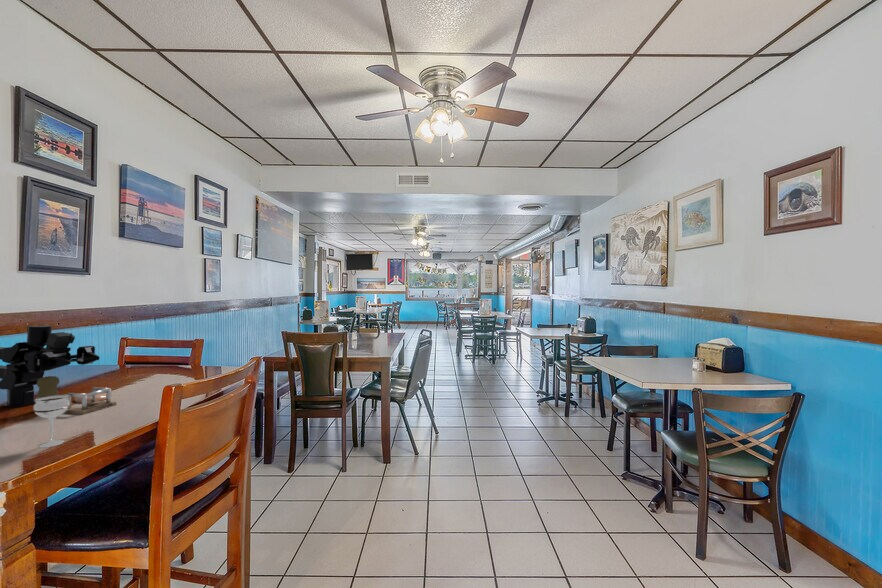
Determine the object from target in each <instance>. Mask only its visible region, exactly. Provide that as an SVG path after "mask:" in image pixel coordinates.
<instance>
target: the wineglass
mask: <svg viewBox="0 0 882 588" xmlns="http://www.w3.org/2000/svg"><path fill="white" fill-rule="evenodd" d="M69 396H70V395H67V394H58V395H50V396H44V397H39V398H37V397H36V398H34V401H35V402H36V403H34V405H33V407H32V409H33V412H34V414H35V415H37V416H38V417H40V418H44V419H47V420H48V421H49V440H48V441H47V440H46V441H45V442H41V443H39V444H37V448H42V449H43V448H50V447H56V446H59V445H61V444H64V443H65V440H60V439H53V435H54V422H55V419H57V418H58V417H59V416H61V415H63V414H65V413H64V412H65V411H66V410H68V408H69V405H70V401H69V400H68V398H69ZM63 442H64V443H63Z"/></svg>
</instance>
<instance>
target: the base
mask: <svg viewBox="0 0 882 588" xmlns="http://www.w3.org/2000/svg"><path fill="white" fill-rule="evenodd" d="M113 405H114V406H117V401H111V403H106V400H103V401H96V402H91V401H90V402H87V410H82V407H75V406H71V408H70V409H68V410H66V411H65V412H64V413H63V414H74V415H86V413H87V414H90V413H93V412H96V410H97V411H100V410H104V409H106V407H107V408H110V407H109V406H111V407H114V406H113ZM103 408H104V409H103Z"/></svg>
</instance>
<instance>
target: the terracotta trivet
mask: <svg viewBox="0 0 882 588" xmlns="http://www.w3.org/2000/svg"><path fill="white" fill-rule="evenodd" d="M111 396H112V393H111ZM105 399H106V393H102V394H98V395H96V401H101V400H103V401H106V400H105ZM90 401H91V396H90V397H87V402H90ZM74 402H75V403H79V404H82V398H80V397H74Z"/></svg>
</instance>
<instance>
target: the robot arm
mask: <svg viewBox="0 0 882 588" xmlns="http://www.w3.org/2000/svg"><path fill="white" fill-rule="evenodd" d="M52 329H53V326H52V325H49V324H47V325H46V324H45V325H27V327H26V332H27V335H26V341H22V342H21V341H20V342H15V344H13V345H12V346H8V347H6V346H0V360H1V362H3V363H5V365H1V364H0V379H1V380H0V390H6V392H7V397H6V403H3V404H1V405H0V406H1V407H8V408H19V407H25V406H28V405H33V404H36V402H35V401H34V399H35V385H37V381H38V380H39V379H40V378H42V377H44V375H45V372H48V371H51V370H55V369H58V368H63V367H67V366H69V365H70V364H71V363H74V362H76V364H77V365H81V366H84V365H90V364H94V362H96V361H100V355H97V354H95V353H96V347H95V346H94V345H83V346H79V347H78V348H77V349H76V354H71V351H72V350H71V347H69V345H70V344H73V343H74V341H75V339H76V336H75V335H74V334H72V332H65V331H62V332H61V331H60V332H58V331H57V332H52Z"/></svg>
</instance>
